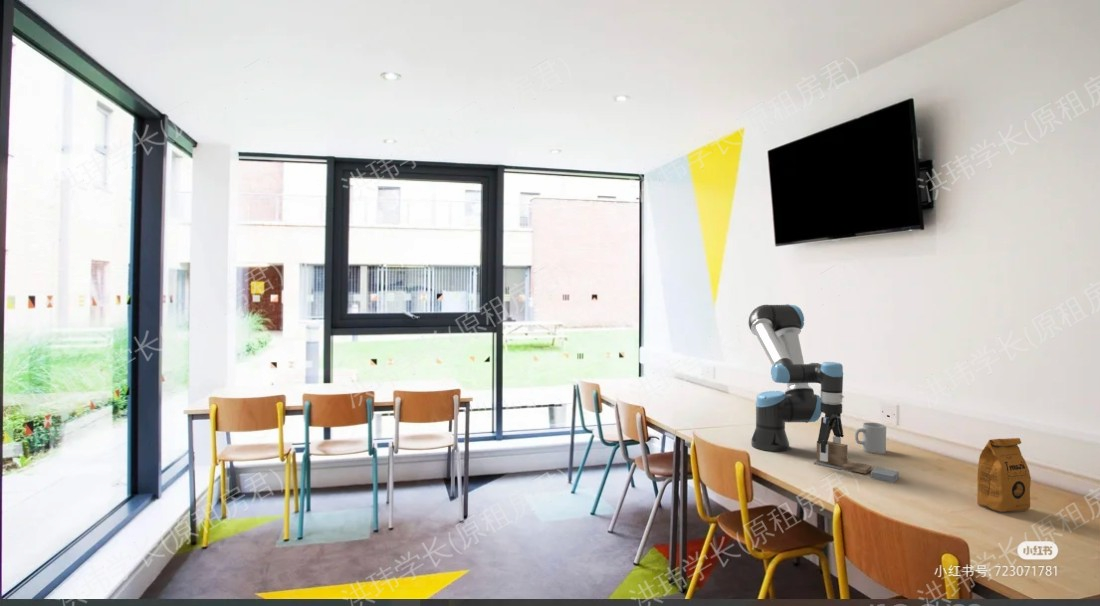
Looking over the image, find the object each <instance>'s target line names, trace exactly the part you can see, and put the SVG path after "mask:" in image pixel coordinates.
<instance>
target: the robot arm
mask: <svg viewBox="0 0 1100 606" xmlns="http://www.w3.org/2000/svg"><path fill="white" fill-rule="evenodd" d="M804 326H805V316H804V313H803V311H802V309H801V308H800V307H799V306H798V305H795V304H789V303H788V304H787V303H786V304H762V305H759V306H757V307H755V308H754V309H753V310H752V311H751V313H750V315H749V317H748V327H749V330H750V332H751V333H752V334H753V335H754V336H756V337H757V340H758V341H759V343H760V345H761V347H762V349H763V350H764V352H765V355H766V357H767V358H768V360H769V362H770V364H771V365H772V366H771V368H770V376H771V380H772V381H773V382H774V383H779V384H786V386H787V387H786V388H787V389H786V390H785V391H781V390H767V391H763V392H760V393H759V394H757V396H756V401H755V429H754V432H753V435H752V438H751V440H750V441H751V447H753V448H755V449H758V450H763V451H768V452H785V451H788V450H789V449H790V441H789V439H788V435H787V432H786V423H806V424H807V423H816V422H818V420H819V419H821V420H820V427H819V432H818V436H817V437H818V438H817V441H816V444H817V443H820V460H821V461H825V462H828V444H827V443H828V441H829V439H830V434H831V432H832V433H833V436H832V442H835V443H840V444H842V438H844V436H845V434H844V429H843V424H842V419H841V418H842V417H841V414H843V404H842V403H843V398H845V396H844V395H843V388H844V387H843V385H844V366H843V364H842V363H840V362H835V361H824V362H822V363H819V362H810V363H805V362H804V357H803V352H802V348H801V342H800V338H799V335H800V334H801V333H802V329H803V328H804ZM810 384H820V395H818V394H817V393H816V394H815V392H814V388H812V387H810ZM822 414H824V416H822Z"/></svg>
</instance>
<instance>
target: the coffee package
mask: <svg viewBox="0 0 1100 606" xmlns="http://www.w3.org/2000/svg"><path fill="white" fill-rule="evenodd" d="M1021 444H1022V441H1021V438H1019V437H1016V438H1015V437H1012V438H1010V437H1009V438H994V439H993V438H991V439H989V440H988V442H987V443H986V444H985V445H984V448H983V449H982V451H981V453H980V454H979V458H978V464H977V465H978V466H977V475H976V476H977V480H976V481H977V485H976V486H977V491H976V493H977V497H976V498H977V501H976V502H977V505H978V506H981V507H982V506H983V507H985V508H989V509H991V510H993V511H997V512H1000V513H1003V512H1024V511H1025V510H1027V511H1029V509H1030V508H1031V481H1032V480H1031V473H1030V469H1029V467H1028V464H1027V462H1026V460H1025V458H1024V457H1023V454H1022V451H1021V449H1020V447H1019V446H1018V445H1021ZM1025 512H1026V511H1025Z"/></svg>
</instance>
